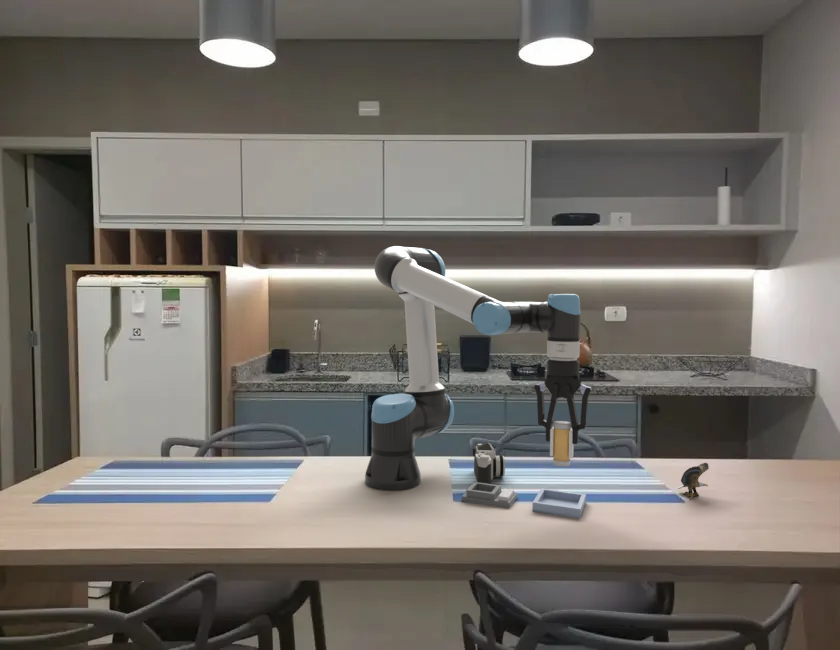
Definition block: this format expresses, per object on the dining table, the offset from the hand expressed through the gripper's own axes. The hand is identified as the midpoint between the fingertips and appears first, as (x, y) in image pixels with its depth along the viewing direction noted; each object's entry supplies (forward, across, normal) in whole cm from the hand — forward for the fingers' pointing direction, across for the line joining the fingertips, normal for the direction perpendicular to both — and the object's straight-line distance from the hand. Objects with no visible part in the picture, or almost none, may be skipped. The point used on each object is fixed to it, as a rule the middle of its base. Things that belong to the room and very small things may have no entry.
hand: (561, 455), depth 141 cm
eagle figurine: (+13, +30, +22) cm, 40 cm away
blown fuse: (+2, 0, 0) cm, 2 cm away
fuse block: (+13, -17, -1) cm, 22 cm away
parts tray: (+13, 0, 0) cm, 13 cm away
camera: (+13, -22, +15) cm, 30 cm away
